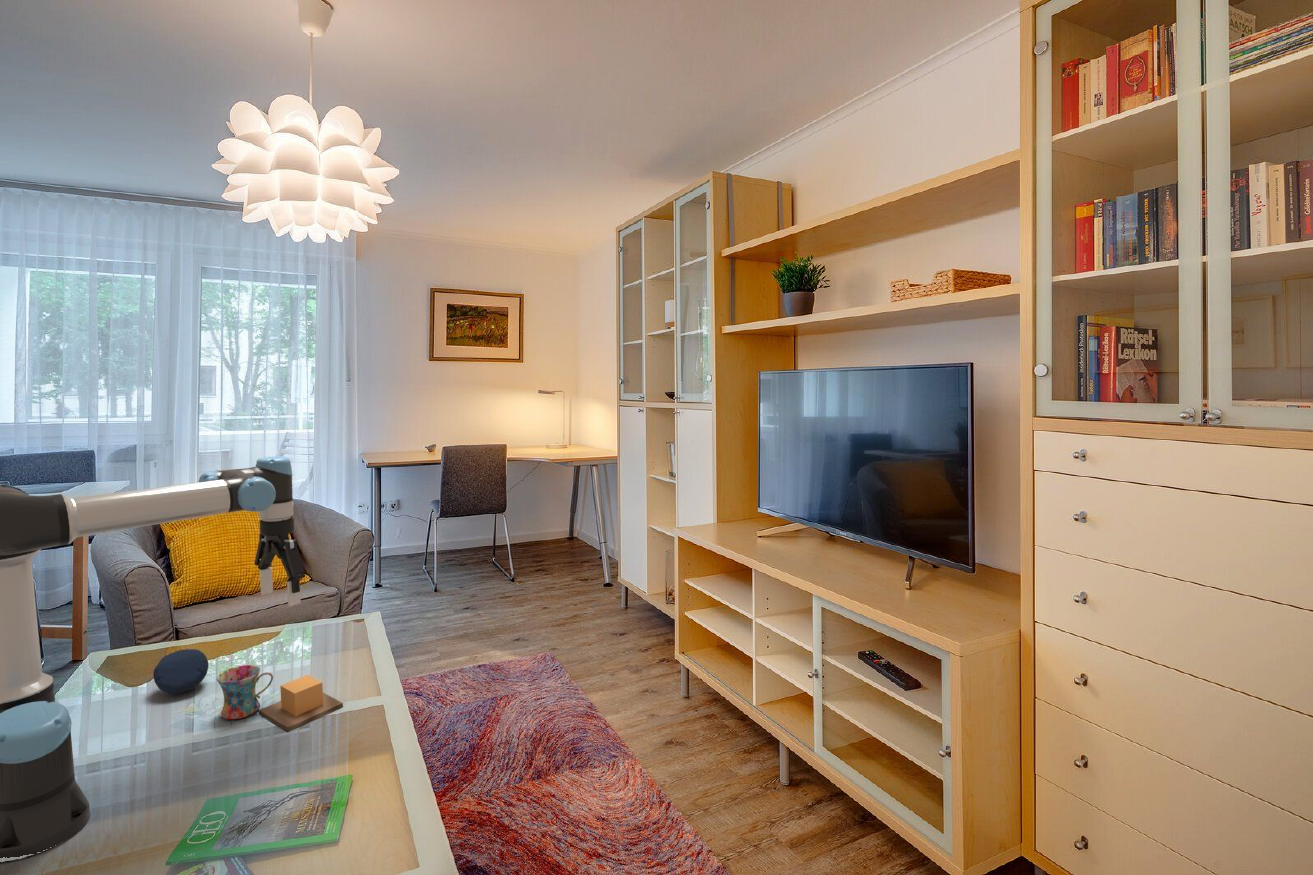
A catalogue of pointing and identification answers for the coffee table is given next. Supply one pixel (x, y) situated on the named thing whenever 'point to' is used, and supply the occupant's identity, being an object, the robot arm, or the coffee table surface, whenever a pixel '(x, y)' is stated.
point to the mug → (240, 691)
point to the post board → (292, 722)
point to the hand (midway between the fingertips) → (280, 598)
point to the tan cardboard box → (301, 695)
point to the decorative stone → (181, 671)
